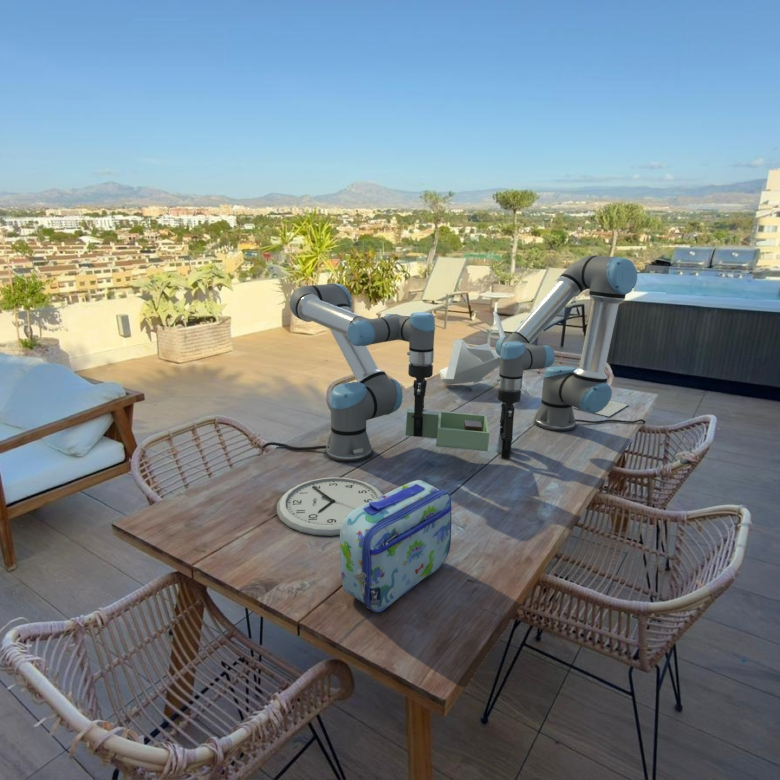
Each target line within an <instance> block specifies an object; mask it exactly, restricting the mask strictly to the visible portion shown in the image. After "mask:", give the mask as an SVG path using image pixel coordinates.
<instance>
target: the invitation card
mask: <svg viewBox="0 0 780 780" xmlns="http://www.w3.org/2000/svg"><path fill="white" fill-rule="evenodd" d="M628 406H629V404H627V403H623V402H618V401H614V400H610V401H609V403H608V404H607V406H606V407H604V408H603V409H602V410H601V411H599V412H597V413H595V414H596V415H600V416H604V417H608V418H609V417H611V416H613V415H614V414H616V413H617V412H619V411H621V410H623V409H624V408H626V407H628ZM573 409H575V410H579V409H578V408H576V407H573Z"/></svg>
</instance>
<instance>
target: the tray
mask: <svg viewBox="0 0 780 780" xmlns="http://www.w3.org/2000/svg"><path fill="white" fill-rule="evenodd" d="M412 415H414V409H411V408H408V409H407V411H406V423H405V436H406V437H414V418H412ZM422 415H423V427H422V437H421V438H426V439H436V441H435V447H440V448H447V449H448V448H450V449H460V450H470V451H481V452H488V450H489V449H488V448H489V442H490V426H489V422H488V416H487V415H485V414H475V413H463V412H452V411H441V410H440V411H434V410H433V411H432V410H426V411H423V413H422ZM465 420H468V421H481V425H482V432H481V431H470V430H464V422H465Z"/></svg>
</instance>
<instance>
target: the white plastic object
mask: <svg viewBox="0 0 780 780" xmlns="http://www.w3.org/2000/svg"><path fill="white" fill-rule="evenodd" d="M492 315H493V319H494V321H495V324H496V325H495V326H496V328H497V332H498V335H499V339H500V338H502V337H506V334H505V331H504V328H503V325H502V321H501V318H500V315H499V314H498V312H497V311H496V310H495V311H492ZM497 368H500V356H499V355H498V354H497V353H496V349H493V348H492V347H491V346H490V344H489V343H488V342H487V343H483V344H479V345H473V346H469V345H468V343H466V342H465V340H464V339H463V338H460V339H458V338H454V340H453V344H452V349H451V353H450V357H449V362H448V366H446V367H444V368H442V369H440V370H439V371H438V372H439V376H440V381H442V383H443V384H444V385H445V386H449V385H458V384H467V383H468V384H469V383H473V384H477V383H480V382H482V381H484V378H485V377H486V376H487V375H489V374H490V373H492V372H494V371H495V370H496V369H497ZM528 387H529V386H528V384H527V381H526V378H525V375H524V374H523V379H522V388H521V390H522V391H523V393H524V395H525V396H526V397H528V396H531V395H530V390H529V388H528Z"/></svg>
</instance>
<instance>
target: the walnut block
mask: <svg viewBox="0 0 780 780" xmlns="http://www.w3.org/2000/svg"><path fill="white" fill-rule="evenodd" d="M464 430H470V431H481V432H482V425H481V421H468V420H465V422H464Z"/></svg>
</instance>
